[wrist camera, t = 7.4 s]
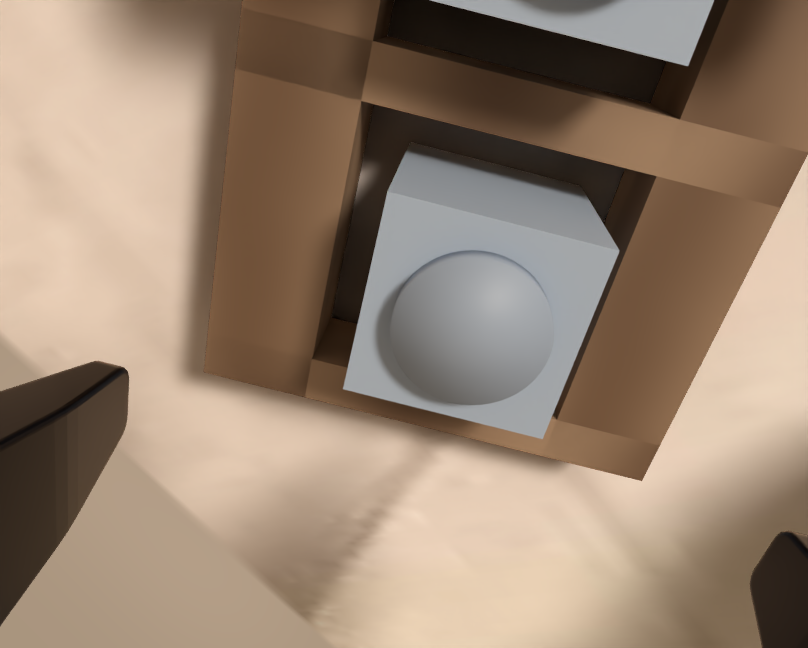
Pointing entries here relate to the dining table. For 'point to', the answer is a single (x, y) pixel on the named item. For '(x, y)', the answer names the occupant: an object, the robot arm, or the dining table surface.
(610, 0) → the pale blue studded block
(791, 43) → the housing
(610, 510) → the dining table surface
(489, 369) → the domed grey cube
